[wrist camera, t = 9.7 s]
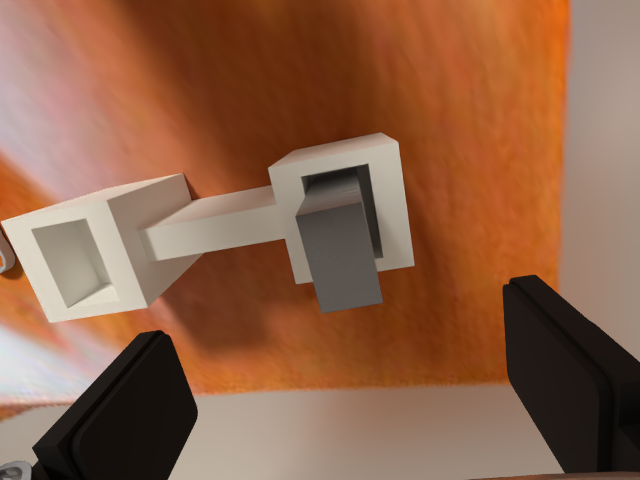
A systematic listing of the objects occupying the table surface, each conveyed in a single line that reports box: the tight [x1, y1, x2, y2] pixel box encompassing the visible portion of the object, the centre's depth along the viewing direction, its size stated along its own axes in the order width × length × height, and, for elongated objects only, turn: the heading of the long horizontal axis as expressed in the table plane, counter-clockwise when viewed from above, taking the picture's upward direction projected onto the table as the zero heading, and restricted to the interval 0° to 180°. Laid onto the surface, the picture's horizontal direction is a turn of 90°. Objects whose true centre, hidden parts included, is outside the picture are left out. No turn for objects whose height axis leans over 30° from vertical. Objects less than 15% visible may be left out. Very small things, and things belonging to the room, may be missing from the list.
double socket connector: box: [1, 132, 415, 323], centre depth 31 cm, size 8×27×12 cm, turn 101°
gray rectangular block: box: [295, 167, 383, 314], centre depth 22 cm, size 5×3×11 cm, turn 14°
